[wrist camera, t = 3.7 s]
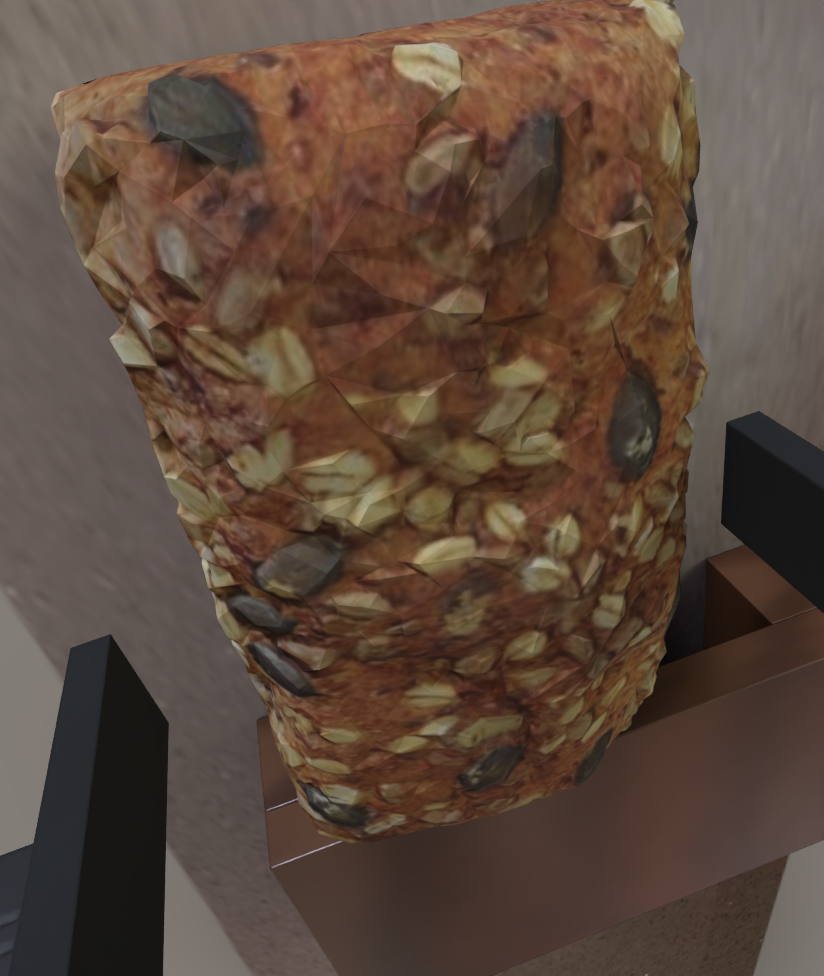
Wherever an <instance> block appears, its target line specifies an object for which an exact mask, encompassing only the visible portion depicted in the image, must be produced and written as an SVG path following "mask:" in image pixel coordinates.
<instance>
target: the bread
mask: <svg viewBox="0 0 824 976" xmlns="http://www.w3.org/2000/svg"><path fill="white" fill-rule="evenodd" d="M673 1H674V0H552V1H545V2H537V3H529V4H521V5H514V6H506V7H502V8H498V9H495V10H491V11H487V12H484V13H480V14H477V15H473V16H470V17H466V18H461V19H453V20H445V21H437V22H429V23H423V24H417V25H412V26H406V27H400V28H394V29H388V30H383V31H377V32H371V33H365V34H362V35H359V36H356V37H351V38H342V39H332V40H322V41H312V42H302V43H291V44H283V45H278V46H273V47H267V48H262V49H257V50H251V51H246V52H241V53H235V54H230V55H219V56H210V57H207V58H204V59H197V60H191V61H184V62H178V63H171V64H165V65H158V66H153V67H148V68H143V69H138V70H133V71H128V72H124V73H119V74H115V75H110V76H106V77H102V78H98V79H95V80H92V81H89V82H86V83H83V84H80V85H77V86H75V87H72V88H69V89H66V90H64V91H61V92H58V93H56V95H55V98H54V100H53V103H52V106H51V111H52V114H53V118H54V121H55V125H56V128H57V132H58V135H59V138H60V140H61V142H60V148H59V153H58V159H57V164H56V169H55V180H56V186H57V192H58V198H59V205H60V211H61V213H62V216H63V218H64V220H65V223H66V225H67V227H68V230H69V232H70V234H71V237H72V239H73V241H74V244H75V246H76V248H77V251H78V253H79V255H80V258H81V260H82V262H83V265H84V267H85V268H86V270H87V272H88V273H89V275H90V277H91V279H92V280H93V282H94V284H95V285H96V287H97V289H98V291H99V292H100V293H101V295H102V296H103V298H104V299H105V301H106V302H107V303H108V305H109V306H110V308H111V309H112V311H113V312H114V313H115V315H116V316H117V318H118V319H119V321H120V322H121V323H122V326H121V327H120V328H119V329H118V330H117V331H116V332H115V334H114V335H113V336H112V337H111V338H110V339H109V340H110V342H111V343H112V345H113V347H114V349H115V350H116V352H117V354H118V356H119V358H120V359H121V361H122V363H123V365H124V366H125V368H126V370H127V372H128V373H129V376H130V378H131V380H132V383H133V385H134V387H135V390H136V392H137V394H138V397H139V399H140V401H141V404H142V406H143V409H144V413H145V418H146V422H147V426H148V431H149V435H150V440H151V442H152V445H153V448H154V450H155V453H156V456H157V458H158V461H159V464H160V466H161V469H162V472H163V474H164V477H165V480H166V482H167V485H168V488H169V490H170V493H171V494H172V495H173V496H174V497H175V498H176V499H177V500H178V503H177V506H178V510H177V516H178V518H179V520H180V522H181V524H182V526H183V528H184V530H185V532H186V534H187V536H188V538H189V540H190V542H191V544H192V546H193V547H194V548H195V550H196V551H197V553H198V554H199V555H200V557H201V558H202V567H203V570H204V574H205V578H206V581H207V585H208V589H210V590H211V591H212V594H213V597H214V600H215V605H216V613H217V620H218V621H219V623H220V625H221V627H222V628H223V630H224V632H225V633H226V635H227V637H228V638H230V639H231V640H232V645H233V646H234V648H235V649H236V651H237V652H238V654H239V655H240V656H241V658H242V659H243V661H244V662H245V665H246V668H247V671H248V675H249V678H250V680H251V681H252V683H253V684H254V686H255V687H256V689H257V690H258V692H259V694H260V696H261V698H262V700H263V702H264V704H265V705H266V709H267V712H268V715H269V722H270V725H271V729H272V732H273V736H274V739H275V743H276V746H277V748H278V751H279V753H280V756H281V759H282V761H283V764H284V766H285V769H286V771H287V773H288V775H289V778H290V780H291V781H292V783H293V785H294V786H295V788H296V792H297V797H298V802H299V805H300V806H301V808H302V809H303V811H304V812H305V813H306V817H307V819H308V821H309V822H310V824H312V825H313V827H314V828H315V829H316V830H317V831H318V833H319V834H322V835H325V836H328V837H331V838H335V839H338V840H341V841H344V842H348V843H364V842H367V843H374V844H379V843H380V841H381V840H383V839H387V838H391V837H395V836H399V835H403V834H407V833H411V832H415V831H419V830H423V829H428V828H433V827H438V826H445V825H457V824H460V823H463V822H466V821H470V820H473V819H476V818H480V817H489V816H494V815H496V814H499V813H502V812H505V811H508V810H511V809H513V808H516V807H519V806H522V805H525V804H527V803H529V802H530V801H532V800H533V799H538V798H545V797H548V796H550V795H552V794H554V793H555V792H557V791H559V790H562V789H570V788H576V787H577V786H579V785H580V784H581V783H583V782H584V781H585V780H587V779H588V778H589V777H590V776H591V775H592V773H593V772H594V771H595V769H596V768H597V767H598V765H599V764H600V762H601V760H602V758H603V756H604V753H605V750H606V749H607V747H608V746H609V744H610V743H611V742H612V740H613V739H614V738H615V737H617V735H618V734H619V733H620V732H621V731H625V730H627V728H628V727H629V726H630V725H631V724H632V716H633V715H634V714H636V712H637V710H638V707H639V706H640V705H641V704H642V702H643V700H644V699H645V698H647V697H648V696H649V695H651V694H652V692H653V687H654V683H655V680H656V677H657V675H656V671H657V668H658V666H659V663H660V661H661V659H662V658H663V656H664V655H665V653H666V652H667V651H666V646H665V642H664V636H665V634H666V631H667V629H668V626H669V624H670V621H671V619H672V617H673V615H674V612H675V610H676V608H677V605H678V603H679V601H680V598H681V587H680V566H681V562H682V558H683V555H684V552H685V549H686V530H687V525H686V524H685V523H684V522H683V521H684V519H685V518H686V505H685V493H686V492H687V488H688V476H689V472H688V470H687V464H688V460H689V456H690V452H691V448H692V445H693V441H694V437H695V434H694V432H693V430H692V428H691V427H690V425H689V423H688V422H687V420H686V418H685V416H686V415H687V414H688V413H690V412H691V411H692V410H693V409H694V408H695V407H696V406H697V405H698V404H699V403H701V401H702V397H703V393H704V389H705V385H706V381H707V378H708V375H709V369H708V366H707V362H706V360H705V359H704V357H703V356H702V354H701V353H700V351H699V348H698V346H697V344H696V341H695V329H694V317H693V305H692V290H691V254H692V249H693V244H694V239H695V233H696V228H697V223H698V221H697V214H696V207H695V200H694V193H693V185H694V182H695V180H696V177H697V175H698V172H699V160H700V139H699V132H698V125H697V118H696V104H695V80H694V79H693V78H692V77H691V76H690V75H689V74H688V73H687V72H686V71H685V70H684V69H683V68H682V67H681V66H680V65H679V57H678V54H679V51H680V48H681V45H682V41H683V38H684V35H685V34H684V31H683V28H682V25H681V22H680V19H679V16H678V13H677V10H676V7H675V5H673Z"/></svg>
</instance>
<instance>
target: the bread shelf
mask: <svg viewBox="0 0 824 976" xmlns="http://www.w3.org/2000/svg"><path fill="white" fill-rule="evenodd" d="M656 675H657V677H656V680H655V683H654V687H653V692H652V694H651V695H649V696H648V697H647V698H645V699H644V700H643V702H642V704H641V705H640V706H639V707H638V710H637V712H636V714H634V715H633V716H632V724H631V725H630V726H629V727H628V728H627V730H625V731H621V732H620V733H619V734H618V735H617V737H615V738H614V739H613V740H612V742H611V743H610V744H609V746H608V747H607V749H606V750H605V753H604V756H603V758H602V760H601V762H600V764H599V765H598V767H597V768H596V769H595V771H594V772H593V773H592V775H591V776H590V777H589V778H588V779H587V780H585V781H584V782H583V783H581V784H580V785H579V786H577V787H576V788H570V789H562V790H559V791H557V792H555V793H554V794H552V795H550V796H548V797H545V798H538V799H533V800H532V801H530V802H529V803H527V804H525V805H522V806H519V807H516V808H513V809H511V810H508V811H505V812H502V813H499V814H496V815H494V816H489V817H480V818H476V819H473V820H470V821H466V822H463V823H460V824H457V825H445V826H438V827H433V828H428V829H423V830H419V831H415V832H411V833H407V834H403V835H399V836H395V837H391V838H387V839H383V840H381V841H380V843H379V844H374V843H367V842H364V843H348V842H344V841H341V840H338V839H335V838H331V837H328V836H325V835H322V834H319V833H318V831H317V830H316V829H315V828H314V827H313V825H312V824H310V822H309V821H308V819H307V817H306V813H305V812H304V811H303V809H302V808H301V806H300V805H299V802H298V797H297V792H296V788H295V786H294V785H293V783H292V781H291V780H290V778H289V775H288V773H287V771H286V769H285V766H284V764H283V761H282V759H281V756H280V753H279V751H278V748H277V746H276V743H275V739H274V736H273V732H272V729H271V725H270V722H269V716H267V717H264V718H261V719H258V720H257V731H258V742H259V753H260V764H261V774H262V785H263V796H264V806H265V813H266V814H265V818H266V828H267V839H268V850H269V861H270V869H271V871H272V872H273V874H274V875H275V877H276V878H277V880H278V882H279V883H280V885H281V886H282V888H283V889H284V891H285V892H286V894H287V896H288V897H289V899H290V900H291V902H292V903H293V905H294V907H295V908H296V910H297V911H298V913H299V914H300V916H301V918H302V919H303V921H304V922H305V924H306V925H307V927H308V928H309V930H310V932H311V933H312V935H313V936H314V938H315V939H316V941H317V943H318V944H319V946H320V947H321V949H322V950H323V952H324V954H325V955H326V957H327V958H328V960H329V961H330V963H331V964H332V966H333V968H334V969H335V971H336V972H337V974H338V975H339V976H492V975H495V974H497V973H500V972H502V971H505V970H507V969H510V968H512V967H514V966H517V965H519V964H522V963H524V962H527V961H529V960H532V959H534V958H536V957H539V956H541V955H544V954H546V953H549V952H551V951H554V950H556V949H558V948H561V947H563V946H566V945H568V944H571V943H573V942H576V941H578V940H580V939H583V938H585V937H588V936H590V935H593V934H595V933H598V932H600V931H602V930H605V929H607V928H610V927H612V926H615V925H617V924H620V923H622V922H624V921H627V920H629V919H632V918H634V917H637V916H639V915H642V914H644V913H646V912H649V911H651V910H654V909H656V908H659V907H661V906H664V905H666V904H668V903H671V902H673V901H676V900H678V899H681V898H683V897H686V896H688V895H690V894H693V893H695V892H698V891H700V890H703V889H705V888H708V887H710V886H712V885H715V884H717V883H720V882H722V881H725V880H727V879H729V878H732V877H734V876H737V875H739V874H742V873H744V872H747V871H749V870H751V869H754V868H756V867H759V866H761V865H764V864H766V863H769V862H771V861H773V860H776V859H778V858H781V857H783V856H786V855H788V854H791V853H793V852H795V851H798V850H800V849H803V848H805V847H808V846H810V845H812V844H815V843H817V842H820V841H822V840H824V613H823V612H821V611H820V610H819V609H818V608H817V607H816V606H815V605H813V604H812V603H811V602H810V601H809V600H808V599H807V598H805V597H804V596H803V595H802V594H801V593H800V592H799V591H798V590H796V589H795V588H794V587H793V586H792V585H791V584H790V583H788V582H787V581H786V580H785V579H784V578H783V577H782V576H780V575H779V574H778V573H777V572H776V571H775V570H774V569H772V568H771V567H770V566H769V565H768V564H767V563H766V562H765V561H763V560H762V559H761V558H760V557H759V556H758V555H757V554H755V553H754V552H753V551H752V550H751V549H750V548H749V547H747V546H746V545H744V546H741V547H739V548H736V549H733V550H730V551H727V552H725V553H722V554H719V555H716V556H713V557H711V558H708V559H707V565H706V592H705V619H704V646H703V651H701V652H698V653H695V654H692V655H690V656H687V657H684V658H682V659H679V660H676V661H674V662H671V663H668V664H666V665H663V666H660V667H658V668H657V671H656Z"/></svg>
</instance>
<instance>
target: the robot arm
mask: <svg viewBox="0 0 824 976" xmlns="http://www.w3.org/2000/svg"><path fill="white" fill-rule="evenodd" d="M721 524H722V525H724V526H725V527H726V528H727V529H728V530H729V531H730V532H732V533H733V534H734V535H735V536H736V537H737V538H738V539H740V540H741V541H742V542H743V543H744V544H745V545H746V546H747V547H749V548H750V549H751V550H752V551H753V552H754V553H755V554H757V555H758V556H759V557H760V558H761V559H762V560H763V561H765V562H766V563H767V564H768V565H769V566H770V567H771V568H772V569H774V570H775V571H776V572H777V573H778V574H779V575H780V576H782V577H783V578H784V579H785V580H786V581H787V582H788V583H790V584H791V585H792V586H793V587H794V588H795V589H796V590H798V591H799V592H800V593H801V594H802V595H803V596H804V597H805V598H807V599H808V600H809V601H810V602H811V603H812V604H813V605H815V606H816V607H817V608H818V609H819V610H820V611H821V612H823V613H824V452H823V451H822V450H820V449H819V448H817V447H815V446H814V445H812V444H811V443H809V442H807V441H806V440H804V439H803V438H801V437H799V436H798V435H796V434H795V433H793V432H791V431H790V430H788V429H787V428H785V427H784V426H782V425H780V424H779V423H777V422H776V421H774V420H772V419H771V418H769V417H768V416H766V415H764V414H763V413H761V412H760V411H758V412H755V413H752V414H749V415H746V416H743V417H740V418H737V419H735V420H732V421H729V422H727V424H726V442H725V460H724V479H723V497H722V515H721ZM168 729H169V723H168V721H167V720H166V718H165V717H164V715H163V713H162V712H161V710H160V709H159V707H158V706H157V704H156V703H155V701H154V700H153V698H152V697H151V695H150V694H149V692H148V691H147V689H146V688H145V686H144V684H143V683H142V681H141V680H140V678H139V677H138V675H137V674H136V672H135V671H134V669H133V668H132V666H131V665H130V663H129V662H128V660H127V658H126V657H125V655H124V654H123V652H122V651H121V649H120V648H119V646H118V645H117V643H116V642H115V640H114V639H113V637H112V636H111V634H110V635H107V636H104V637H101V638H98V639H96V640H93V641H90V642H87V643H84V644H81V645H78V646H75V647H72V648H71V649H70V654H69V660H68V665H67V670H66V675H65V681H64V686H63V691H62V697H61V702H60V707H59V712H58V718H57V723H56V728H55V733H54V739H53V744H52V749H51V755H50V760H49V765H48V770H47V776H46V781H45V786H44V791H43V797H42V802H41V807H40V812H39V817H38V823H37V828H36V833H35V838H34V843H33V844H31V845H28V846H25V847H23V848H20V849H17V850H15V851H12V852H9V853H7V854H4V855H1V856H0V976H163V944H164V902H165V859H166V816H167V773H168Z"/></svg>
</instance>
